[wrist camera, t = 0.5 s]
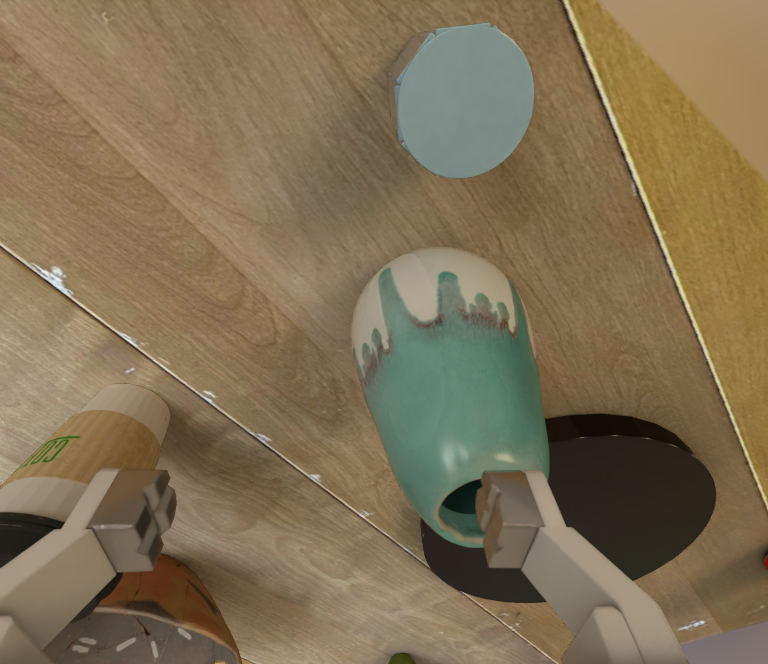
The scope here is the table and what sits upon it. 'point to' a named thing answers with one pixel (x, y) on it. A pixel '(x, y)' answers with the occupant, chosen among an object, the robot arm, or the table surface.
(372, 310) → the vase
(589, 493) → the disc
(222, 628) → the bowl
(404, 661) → the apple
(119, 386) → the coffee cup
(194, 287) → the table surface
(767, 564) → the soda can
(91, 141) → the table surface
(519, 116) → the blue cup
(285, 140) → the table surface
